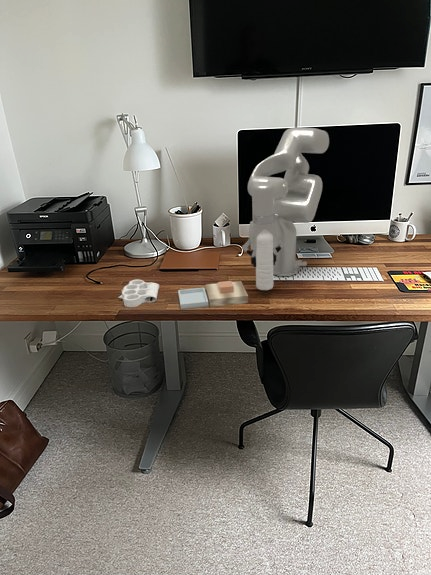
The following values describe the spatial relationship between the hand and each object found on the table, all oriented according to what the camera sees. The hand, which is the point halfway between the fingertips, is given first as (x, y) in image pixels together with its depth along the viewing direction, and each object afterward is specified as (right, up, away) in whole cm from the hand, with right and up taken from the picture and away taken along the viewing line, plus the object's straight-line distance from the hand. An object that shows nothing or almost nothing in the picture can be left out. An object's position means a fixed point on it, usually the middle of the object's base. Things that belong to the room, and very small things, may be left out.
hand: (263, 264), depth 166 cm
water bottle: (+1, -8, +4) cm, 9 cm away
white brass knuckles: (-47, -12, +7) cm, 49 cm away
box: (-26, -13, +1) cm, 29 cm away
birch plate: (-14, -12, +3) cm, 19 cm away
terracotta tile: (-14, -9, +1) cm, 17 cm away
